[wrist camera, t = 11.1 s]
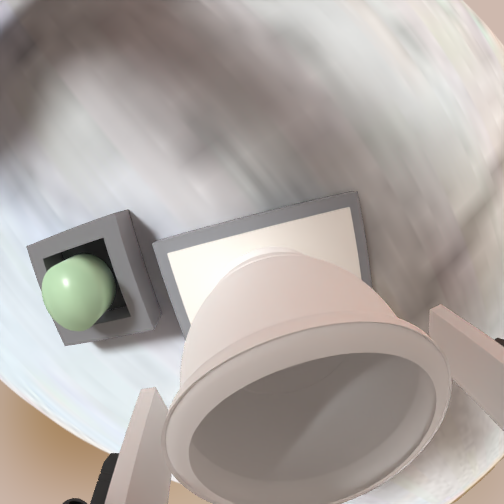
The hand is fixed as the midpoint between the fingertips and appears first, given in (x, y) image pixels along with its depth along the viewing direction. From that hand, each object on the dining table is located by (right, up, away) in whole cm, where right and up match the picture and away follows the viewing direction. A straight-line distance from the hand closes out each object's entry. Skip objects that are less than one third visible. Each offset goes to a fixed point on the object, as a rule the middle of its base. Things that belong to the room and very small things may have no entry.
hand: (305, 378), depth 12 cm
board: (-1, +2, +12) cm, 12 cm away
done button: (-15, +3, +9) cm, 18 cm away
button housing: (-15, +3, +11) cm, 19 cm away
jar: (-1, +2, +11) cm, 11 cm away
